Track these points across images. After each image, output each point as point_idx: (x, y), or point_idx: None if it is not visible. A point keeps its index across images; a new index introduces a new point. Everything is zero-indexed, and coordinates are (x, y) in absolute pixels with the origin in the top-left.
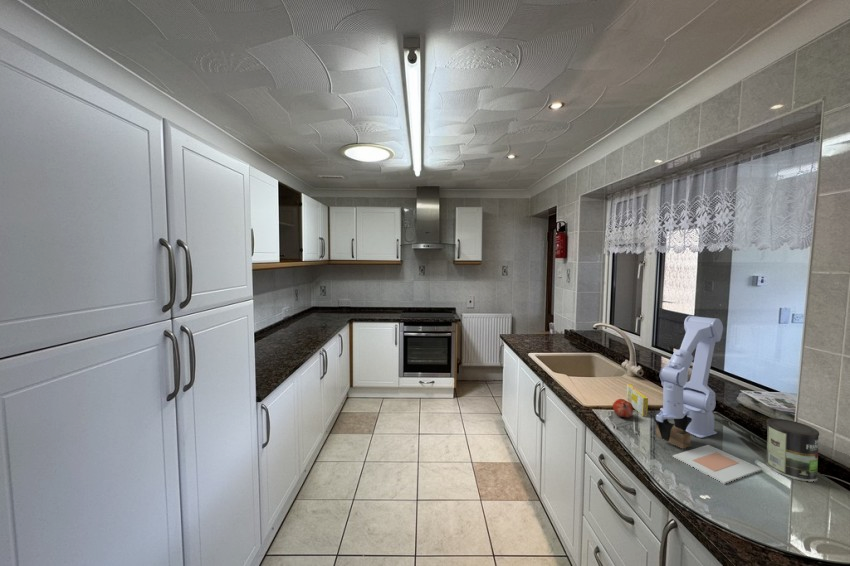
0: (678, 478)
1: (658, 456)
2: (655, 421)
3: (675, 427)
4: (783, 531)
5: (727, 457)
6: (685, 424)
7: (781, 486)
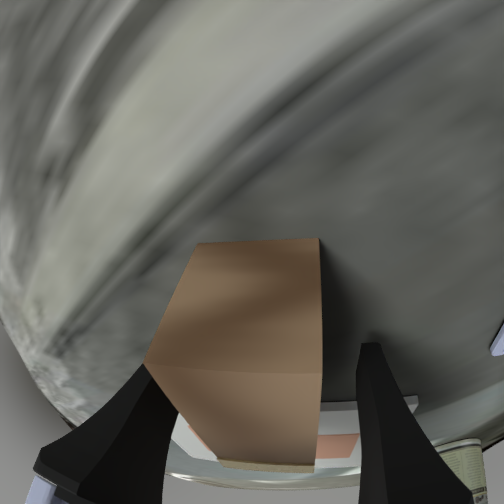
0: (89, 408)
1: (77, 360)
2: (52, 447)
3: (298, 443)
4: (183, 473)
5: (353, 447)
6: (360, 494)
7: (329, 474)
